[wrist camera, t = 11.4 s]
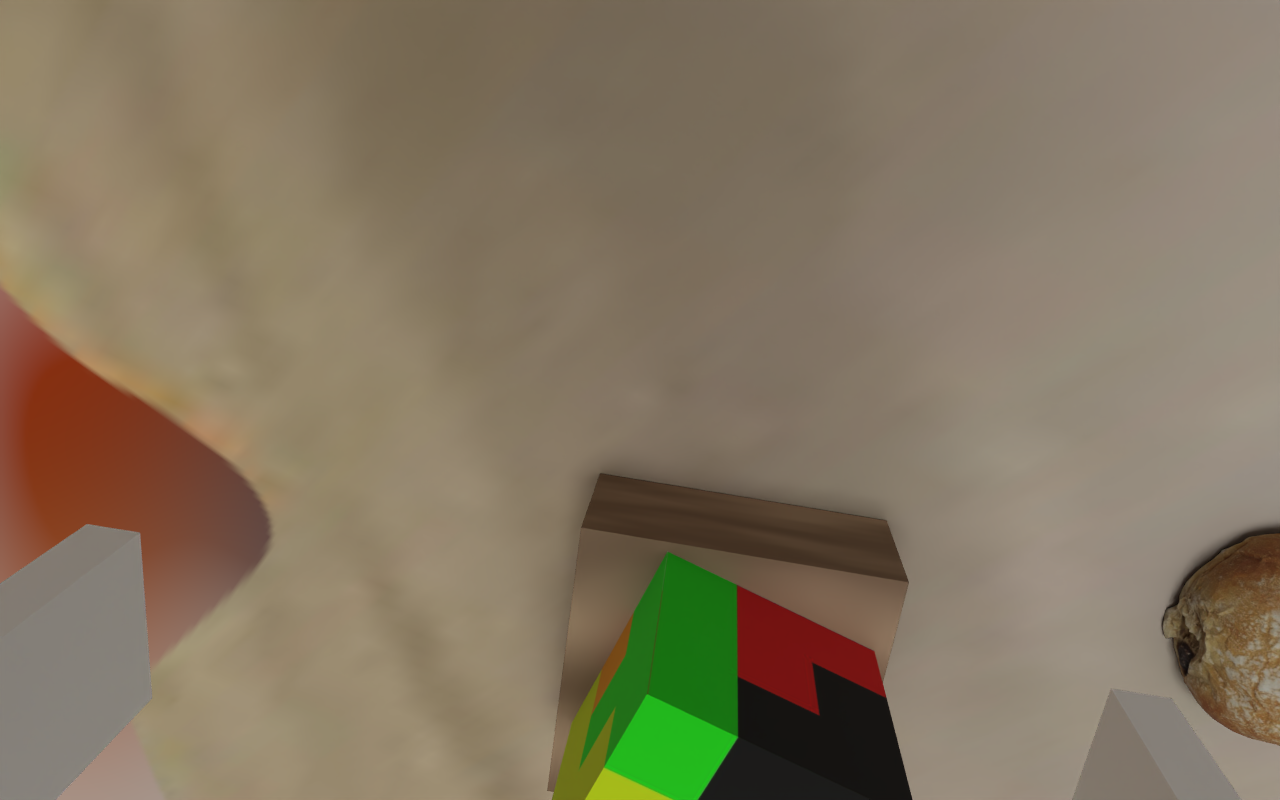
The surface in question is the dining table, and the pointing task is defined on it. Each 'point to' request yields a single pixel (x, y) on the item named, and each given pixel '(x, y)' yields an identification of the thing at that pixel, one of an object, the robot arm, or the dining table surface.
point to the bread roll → (1233, 637)
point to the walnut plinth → (722, 570)
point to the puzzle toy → (730, 705)
